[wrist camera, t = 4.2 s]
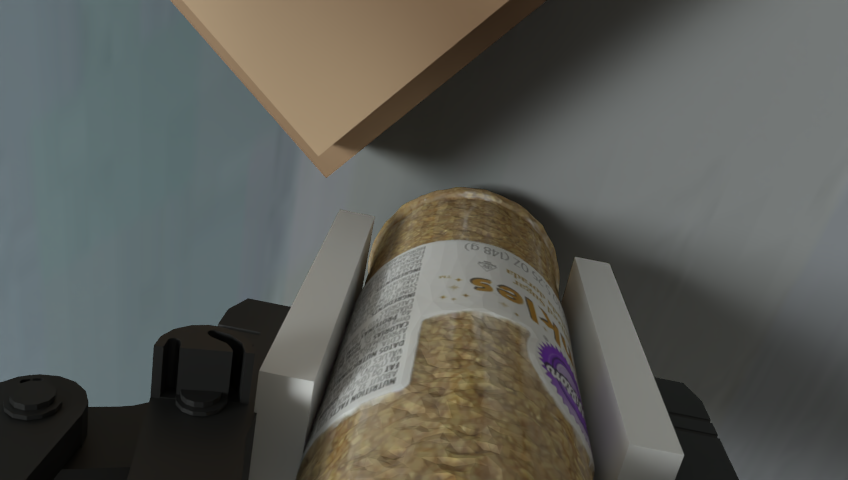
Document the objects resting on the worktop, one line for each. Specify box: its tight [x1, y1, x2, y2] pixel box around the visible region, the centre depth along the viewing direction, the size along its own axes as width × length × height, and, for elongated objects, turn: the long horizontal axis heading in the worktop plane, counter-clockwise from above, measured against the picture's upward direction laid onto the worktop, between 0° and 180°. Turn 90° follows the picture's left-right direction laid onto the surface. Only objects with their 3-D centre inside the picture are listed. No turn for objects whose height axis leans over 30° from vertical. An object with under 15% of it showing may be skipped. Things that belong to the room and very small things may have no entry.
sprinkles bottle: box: [295, 187, 595, 480], centre depth 12 cm, size 5×5×14 cm
